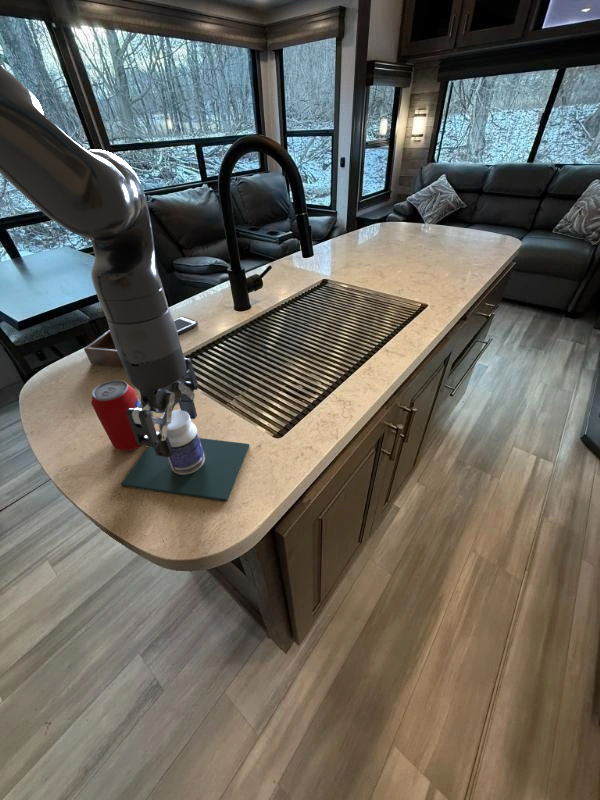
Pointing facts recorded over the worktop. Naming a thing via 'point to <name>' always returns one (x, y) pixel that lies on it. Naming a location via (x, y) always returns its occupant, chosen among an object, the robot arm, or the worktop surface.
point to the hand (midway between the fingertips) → (179, 435)
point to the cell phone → (184, 324)
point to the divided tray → (103, 351)
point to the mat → (203, 483)
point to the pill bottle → (184, 444)
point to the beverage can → (116, 412)
